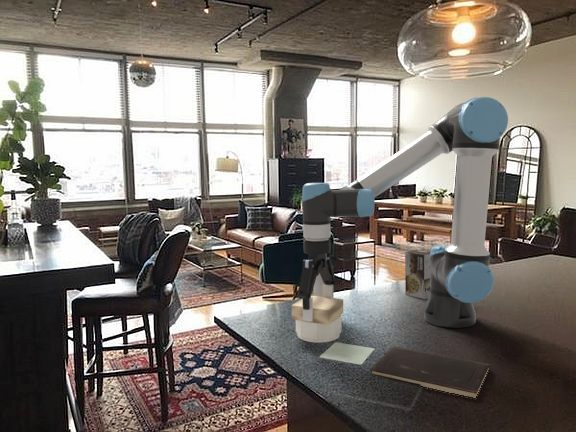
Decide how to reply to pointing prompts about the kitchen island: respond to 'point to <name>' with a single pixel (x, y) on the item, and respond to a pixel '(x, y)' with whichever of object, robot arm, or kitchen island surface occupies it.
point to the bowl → (318, 331)
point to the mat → (347, 353)
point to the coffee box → (417, 273)
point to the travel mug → (319, 282)
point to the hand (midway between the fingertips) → (318, 313)
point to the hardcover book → (433, 371)
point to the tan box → (320, 310)
